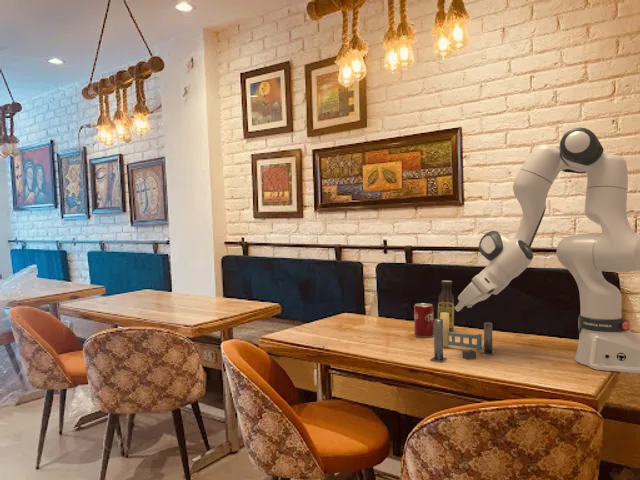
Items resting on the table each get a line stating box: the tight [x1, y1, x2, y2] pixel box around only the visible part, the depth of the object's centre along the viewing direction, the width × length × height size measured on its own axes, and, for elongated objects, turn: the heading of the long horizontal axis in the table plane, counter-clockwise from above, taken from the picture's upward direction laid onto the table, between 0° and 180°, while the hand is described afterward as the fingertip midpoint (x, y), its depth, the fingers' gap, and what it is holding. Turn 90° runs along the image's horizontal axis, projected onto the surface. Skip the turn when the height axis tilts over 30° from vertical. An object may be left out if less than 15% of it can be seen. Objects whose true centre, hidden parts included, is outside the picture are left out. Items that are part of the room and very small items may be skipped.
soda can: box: [413, 302, 435, 339], centre depth 196 cm, size 7×7×12 cm
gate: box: [440, 312, 483, 352], centre depth 175 cm, size 14×3×11 cm, turn 55°
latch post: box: [430, 318, 448, 363], centre depth 164 cm, size 4×4×13 cm
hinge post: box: [480, 321, 497, 356], centre depth 170 cm, size 4×4×10 cm
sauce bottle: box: [437, 280, 455, 332], centre depth 203 cm, size 7×6×20 cm
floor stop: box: [461, 349, 477, 361], centre depth 165 cm, size 4×2×2 cm, turn 110°
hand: (462, 308), depth 175 cm, fingers open, 8 cm apart
